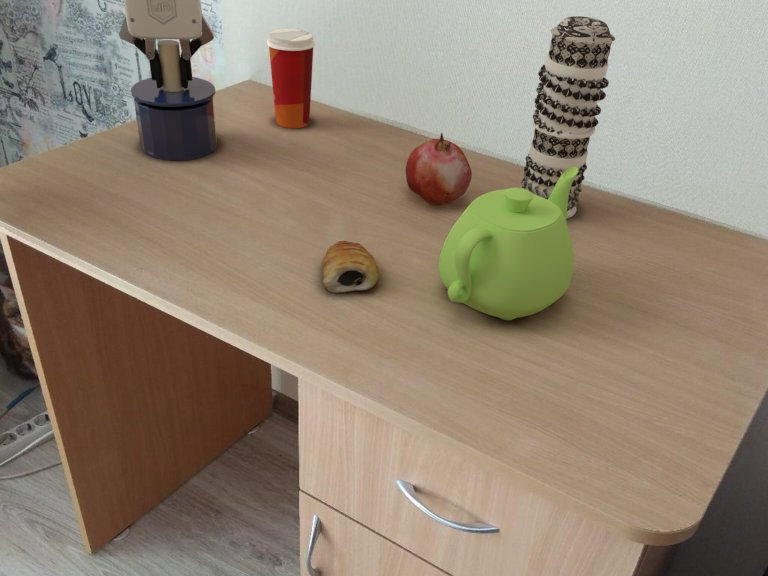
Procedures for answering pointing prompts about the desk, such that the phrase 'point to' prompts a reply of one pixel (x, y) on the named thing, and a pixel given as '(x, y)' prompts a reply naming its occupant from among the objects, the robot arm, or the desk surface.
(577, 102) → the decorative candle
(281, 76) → the paper cup
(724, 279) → the desk surface
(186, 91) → the lid
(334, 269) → the pastry
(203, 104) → the dark blue round pot
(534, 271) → the teapot
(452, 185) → the fruit
